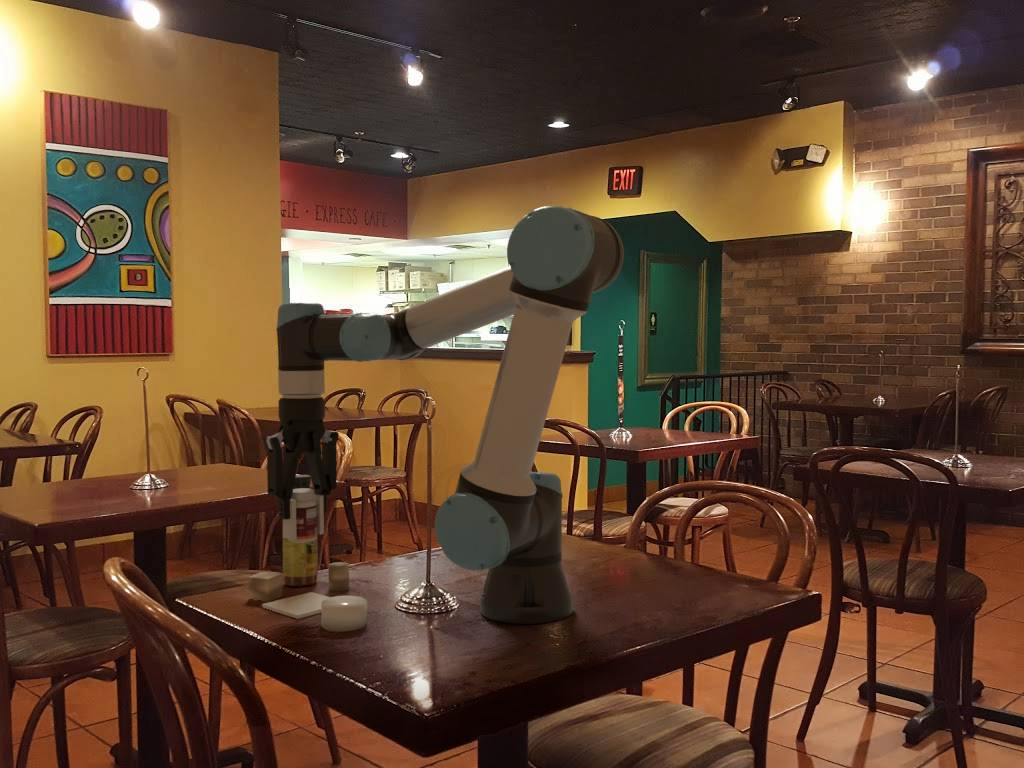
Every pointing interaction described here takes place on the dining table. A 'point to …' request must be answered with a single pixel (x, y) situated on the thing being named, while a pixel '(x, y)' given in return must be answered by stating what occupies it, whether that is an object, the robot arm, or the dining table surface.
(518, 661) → the dining table surface
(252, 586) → the beech block
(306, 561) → the sauce bottle
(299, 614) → the tile
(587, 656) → the dining table surface
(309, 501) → the pill bottle
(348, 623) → the white squat cylinder
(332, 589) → the cork
